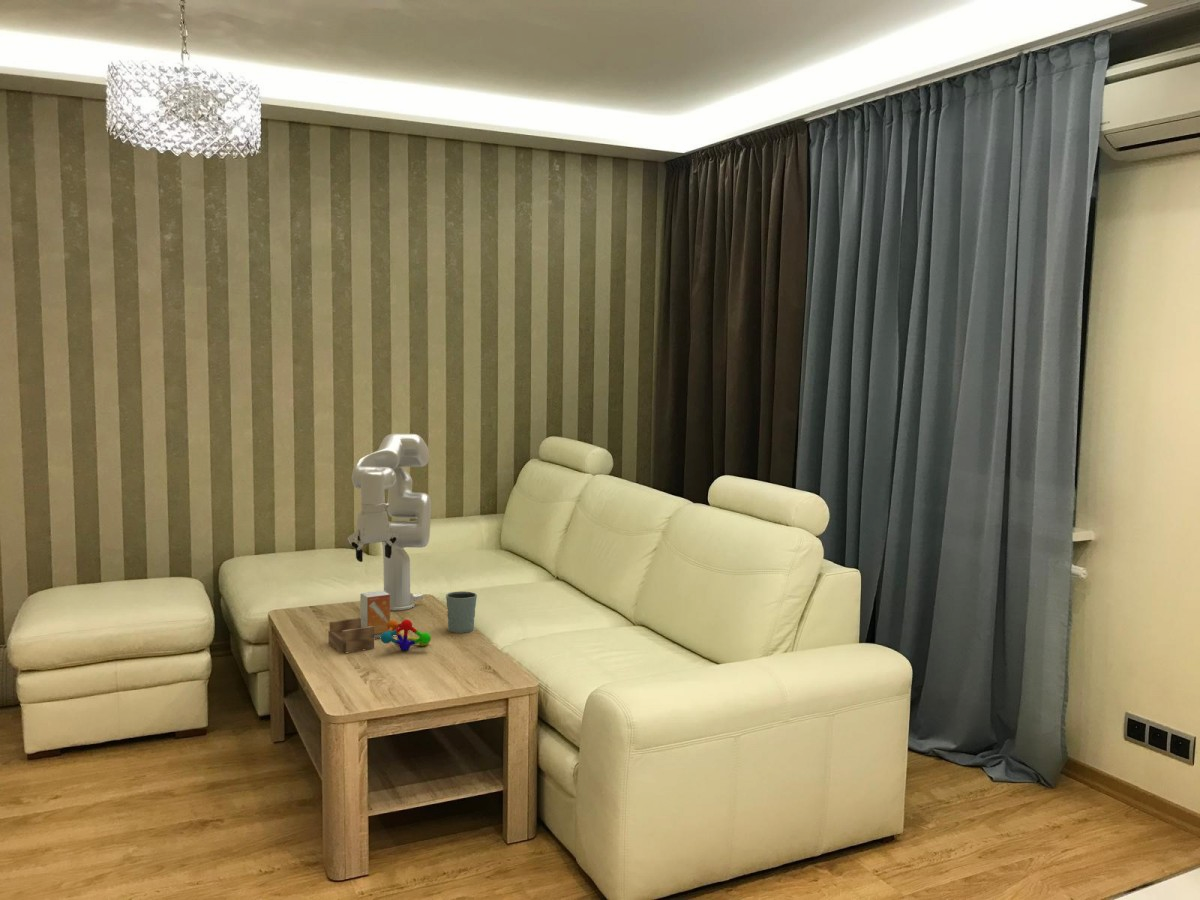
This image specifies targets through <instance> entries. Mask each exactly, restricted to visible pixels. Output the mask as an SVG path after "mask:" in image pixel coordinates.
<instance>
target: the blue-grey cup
mask: <svg viewBox="0 0 1200 900" xmlns="http://www.w3.org/2000/svg"><path fill="white" fill-rule="evenodd" d="M445 597H446V607H447V608H446V609H447V628H448V629H447V630H448V631H449V632H450V631H451V632H450V633H454V632H456V633H455V634H464V632H466V633H470V632H472V631H474V628H475V618H476V617H475V616H476V615H475V614H476V605H477V597H478V595H477V593H475V592H473V591H472V592H471V591H451V592H448V593H446V595H445Z"/></svg>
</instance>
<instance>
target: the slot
mask: <svg viewBox="0 0 1200 900" xmlns="http://www.w3.org/2000/svg"><path fill="white" fill-rule="evenodd" d="M327 633H328V645H330V644H331V645H330V646H332V647H333V646H334V647H335V648H334V647H333V648H334V649H336V650H337V649H338V650H339V651H338V650H337V651H338V652H339V653H341V654H342V653H343V654H347V653H346V652H349V653H353V652H352V651H355V652H359V651H358V650H362V651H364V650H363V649H368V650H370V649H369V648H374V649H375V639H374V626H369V627H362V628H361V618H360V617H354V618H348V619H339V620H334V621H329V631H328V632H327Z"/></svg>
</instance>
